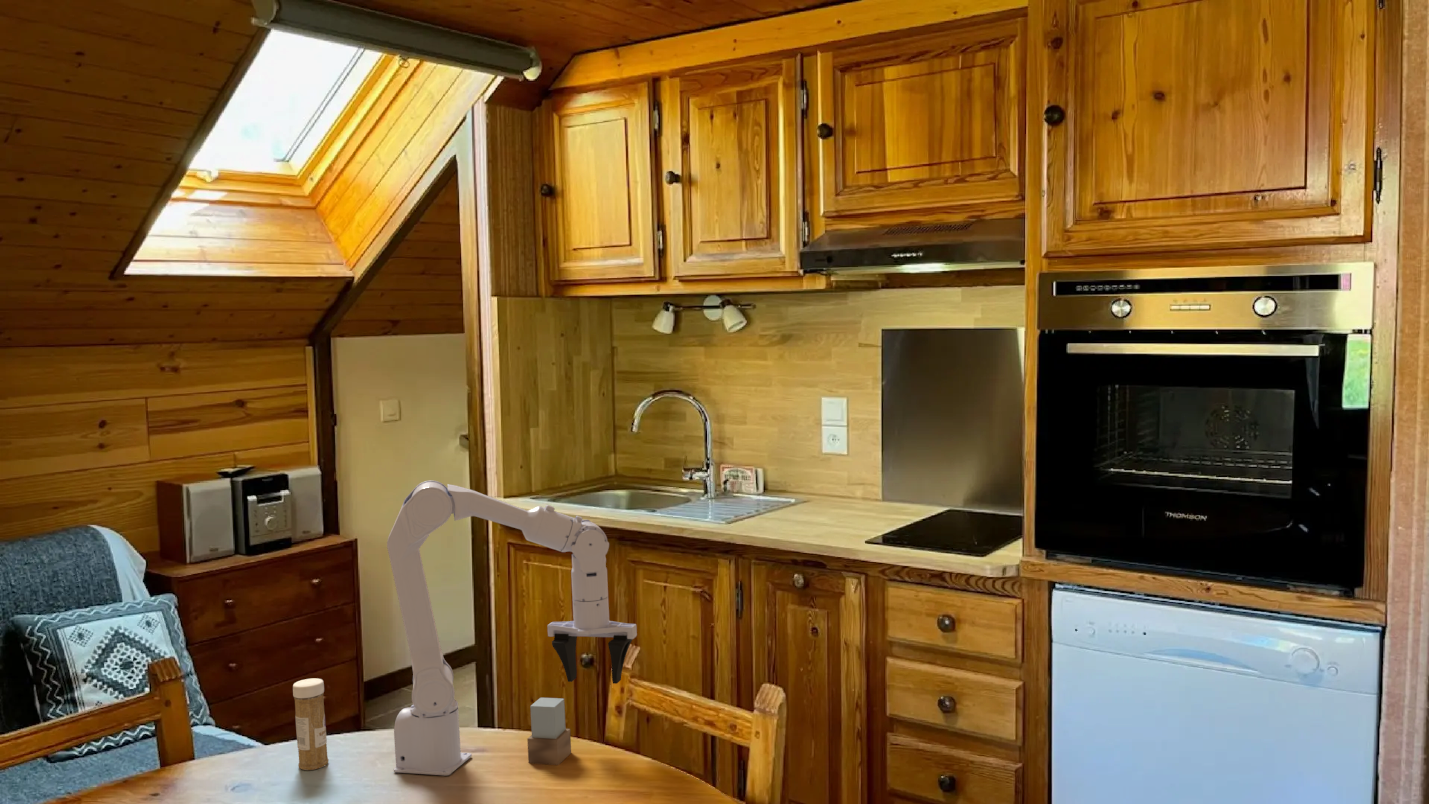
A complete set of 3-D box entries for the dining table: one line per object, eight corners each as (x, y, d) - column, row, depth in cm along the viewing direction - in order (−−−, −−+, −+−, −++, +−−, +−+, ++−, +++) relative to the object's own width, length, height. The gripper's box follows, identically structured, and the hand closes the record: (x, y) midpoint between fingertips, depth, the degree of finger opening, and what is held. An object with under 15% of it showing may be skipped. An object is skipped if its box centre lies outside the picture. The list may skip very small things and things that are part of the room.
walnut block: (528, 763, 168) (527, 738, 168) (542, 751, 173) (541, 727, 173) (558, 766, 167) (556, 740, 167) (571, 753, 172) (570, 729, 172)
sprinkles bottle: (331, 766, 170) (326, 682, 169) (301, 773, 168) (296, 688, 167) (324, 757, 174) (319, 675, 173) (295, 764, 172) (289, 681, 171)
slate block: (531, 737, 169) (530, 706, 168) (542, 728, 172) (540, 697, 172) (555, 738, 168) (554, 707, 167) (565, 729, 172) (564, 698, 171)
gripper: (538, 602, 172) (542, 686, 172) (625, 604, 168) (629, 690, 169) (555, 592, 178) (559, 673, 179) (639, 593, 175) (643, 676, 176)
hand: (594, 680), depth 175 cm, fingers open, 7 cm apart
